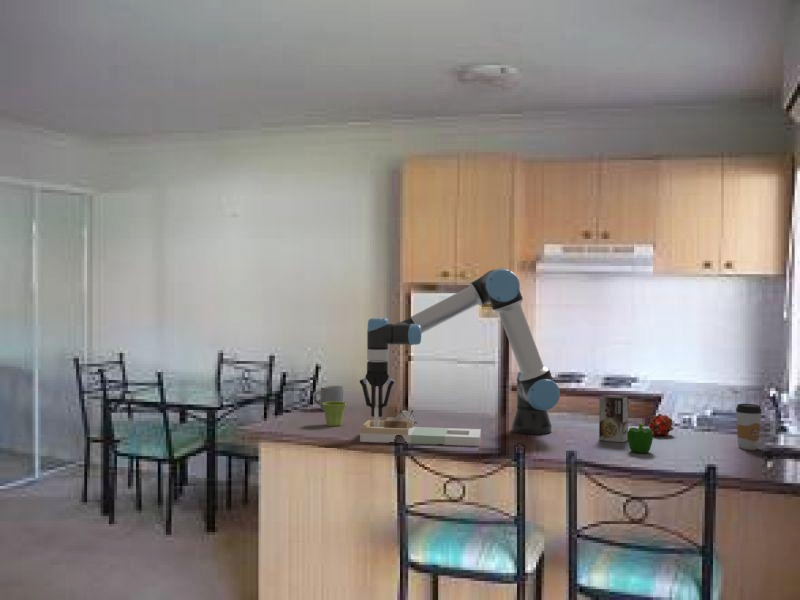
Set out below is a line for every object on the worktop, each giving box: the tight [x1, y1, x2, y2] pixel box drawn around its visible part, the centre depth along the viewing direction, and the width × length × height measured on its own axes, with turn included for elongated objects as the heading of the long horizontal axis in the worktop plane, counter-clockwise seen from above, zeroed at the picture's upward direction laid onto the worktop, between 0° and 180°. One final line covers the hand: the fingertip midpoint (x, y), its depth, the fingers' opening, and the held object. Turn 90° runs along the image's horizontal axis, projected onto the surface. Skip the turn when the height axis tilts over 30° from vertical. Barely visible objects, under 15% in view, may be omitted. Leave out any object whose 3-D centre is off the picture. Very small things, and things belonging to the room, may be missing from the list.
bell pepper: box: [627, 423, 654, 454], centre depth 270 cm, size 8×8×10 cm
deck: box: [359, 419, 482, 447], centre depth 288 cm, size 42×16×5 cm, turn 83°
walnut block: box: [383, 416, 409, 429], centre depth 289 cm, size 8×8×4 cm
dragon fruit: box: [647, 413, 674, 437], centre depth 302 cm, size 8×8×12 cm
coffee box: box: [598, 394, 629, 443], centre depth 291 cm, size 9×6×16 cm
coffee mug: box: [312, 385, 344, 412], centre depth 356 cm, size 13×10×10 cm
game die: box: [395, 408, 418, 426], centre depth 306 cm, size 9×8×10 cm
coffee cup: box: [735, 403, 763, 451], centre depth 279 cm, size 8×8×15 cm
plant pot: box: [322, 401, 347, 427], centre depth 315 cm, size 9×9×9 cm
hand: (376, 425), depth 290 cm, fingers closed
